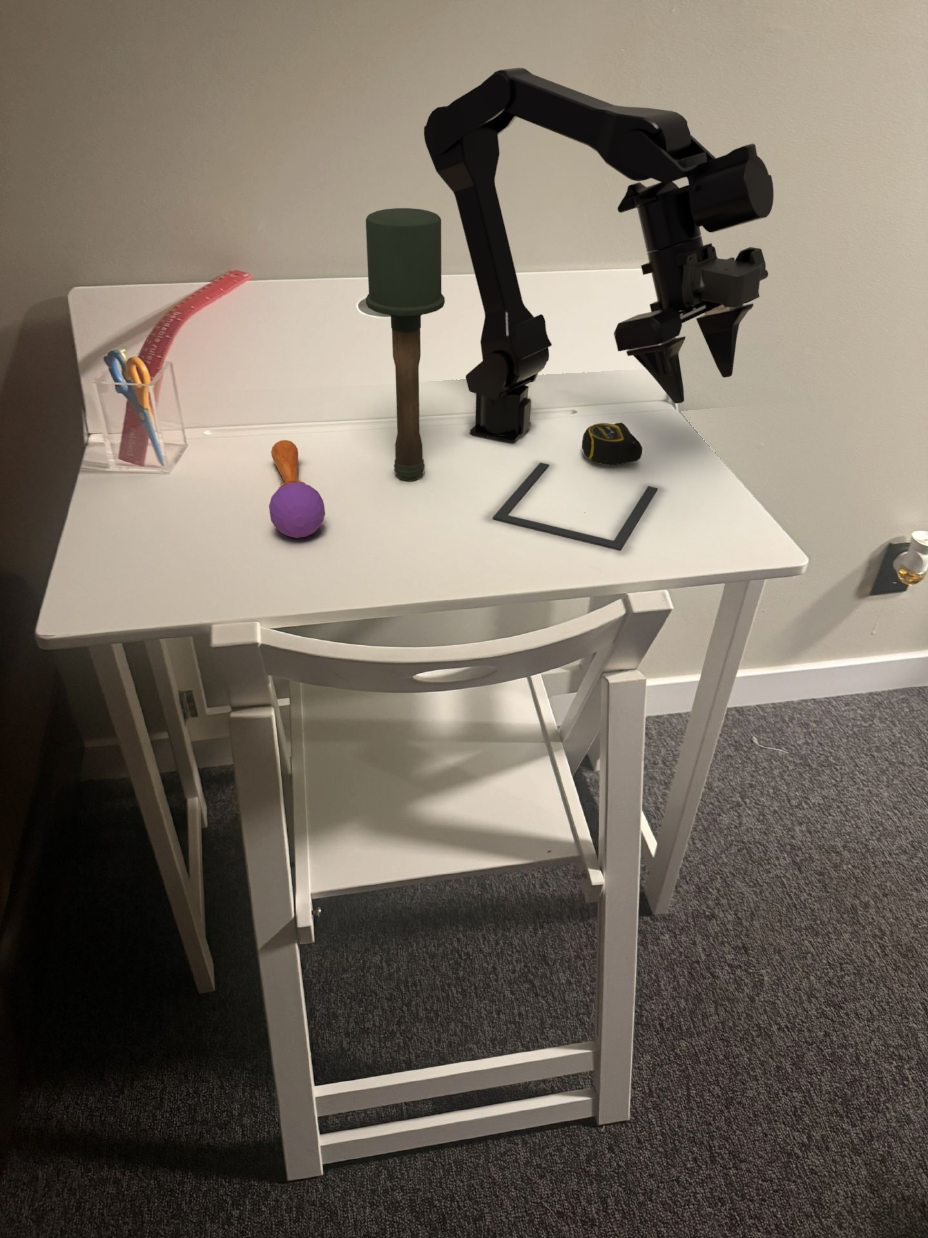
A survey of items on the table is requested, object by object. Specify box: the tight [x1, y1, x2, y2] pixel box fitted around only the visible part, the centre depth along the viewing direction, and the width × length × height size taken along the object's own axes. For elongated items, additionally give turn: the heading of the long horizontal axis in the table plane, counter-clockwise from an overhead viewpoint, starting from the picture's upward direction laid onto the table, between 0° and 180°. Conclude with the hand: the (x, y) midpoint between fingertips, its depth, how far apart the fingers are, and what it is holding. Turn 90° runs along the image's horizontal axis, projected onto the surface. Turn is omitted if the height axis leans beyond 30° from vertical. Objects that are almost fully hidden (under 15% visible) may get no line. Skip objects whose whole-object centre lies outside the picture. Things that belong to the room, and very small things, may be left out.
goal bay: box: [492, 462, 658, 551], centre depth 106 cm, size 15×15×1 cm
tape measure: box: [581, 422, 643, 467], centre depth 115 cm, size 7×7×4 cm
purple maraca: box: [268, 439, 326, 539], centre depth 104 cm, size 6×6×20 cm
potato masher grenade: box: [365, 207, 446, 482], centre depth 102 cm, size 8×9×30 cm
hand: (704, 389), depth 100 cm, fingers open, 9 cm apart
